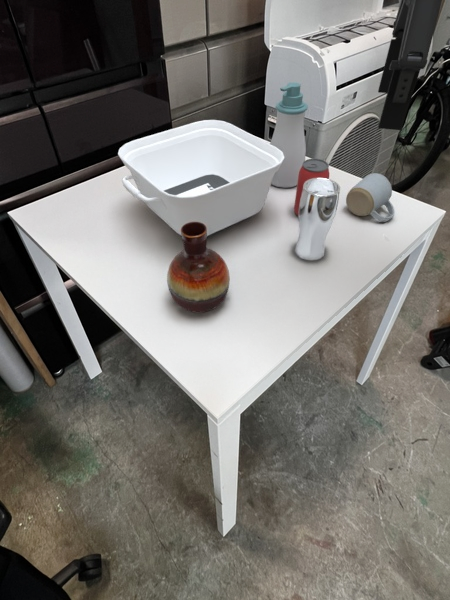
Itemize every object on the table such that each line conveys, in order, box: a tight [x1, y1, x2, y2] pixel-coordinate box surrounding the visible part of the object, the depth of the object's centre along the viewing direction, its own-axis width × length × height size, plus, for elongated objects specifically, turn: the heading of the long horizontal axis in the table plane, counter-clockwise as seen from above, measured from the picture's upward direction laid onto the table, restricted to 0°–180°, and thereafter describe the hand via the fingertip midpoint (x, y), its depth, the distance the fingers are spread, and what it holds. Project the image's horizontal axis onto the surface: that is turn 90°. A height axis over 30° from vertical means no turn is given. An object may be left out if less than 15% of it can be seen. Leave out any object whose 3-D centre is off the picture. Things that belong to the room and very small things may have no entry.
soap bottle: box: [269, 82, 309, 189], centre depth 91 cm, size 10×10×23 cm
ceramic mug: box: [345, 172, 395, 223], centre depth 85 cm, size 11×8×8 cm
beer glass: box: [294, 178, 341, 261], centre depth 73 cm, size 7×7×15 cm
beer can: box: [293, 158, 330, 217], centre depth 84 cm, size 7×7×12 cm
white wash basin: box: [117, 119, 284, 237], centre depth 83 cm, size 34×29×15 cm
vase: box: [166, 222, 231, 313], centre depth 64 cm, size 11×11×15 cm
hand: (388, 109), depth 51 cm, fingers open, 13 cm apart
